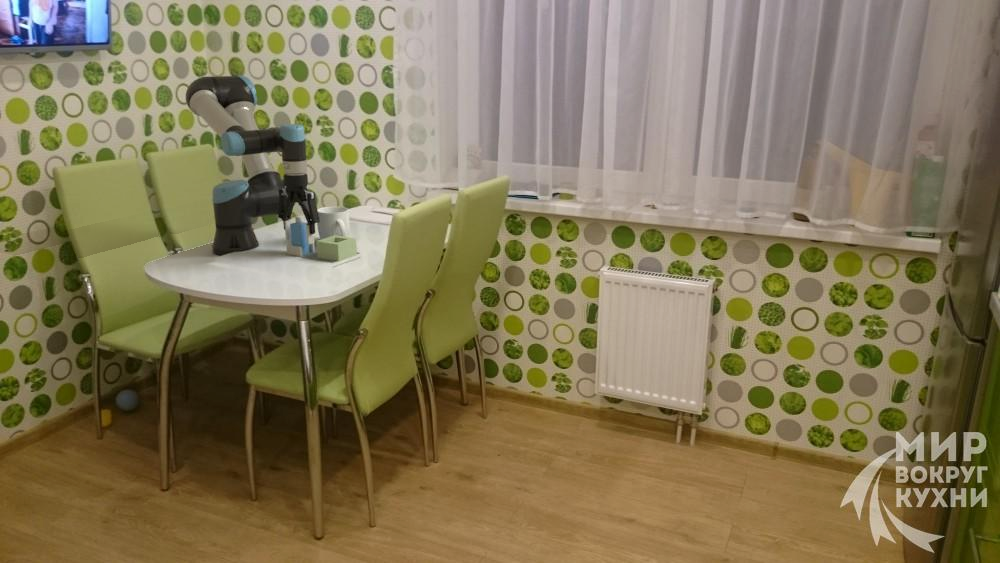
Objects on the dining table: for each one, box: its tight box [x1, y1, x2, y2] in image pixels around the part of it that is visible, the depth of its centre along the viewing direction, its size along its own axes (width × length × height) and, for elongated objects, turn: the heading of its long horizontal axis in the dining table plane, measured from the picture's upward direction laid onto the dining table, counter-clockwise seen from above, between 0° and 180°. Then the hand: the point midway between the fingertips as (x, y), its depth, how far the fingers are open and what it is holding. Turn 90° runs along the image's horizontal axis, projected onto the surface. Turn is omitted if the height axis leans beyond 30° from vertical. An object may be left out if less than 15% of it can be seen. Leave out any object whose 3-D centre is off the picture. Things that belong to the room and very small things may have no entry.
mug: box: [316, 206, 350, 240], centre depth 278 cm, size 15×11×13 cm
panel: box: [285, 243, 361, 268], centre depth 266 cm, size 20×14×4 cm
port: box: [316, 235, 358, 262], centre depth 263 cm, size 9×9×6 cm
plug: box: [290, 216, 310, 254], centre depth 266 cm, size 4×4×12 cm
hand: (300, 241), depth 266 cm, fingers open, 9 cm apart
